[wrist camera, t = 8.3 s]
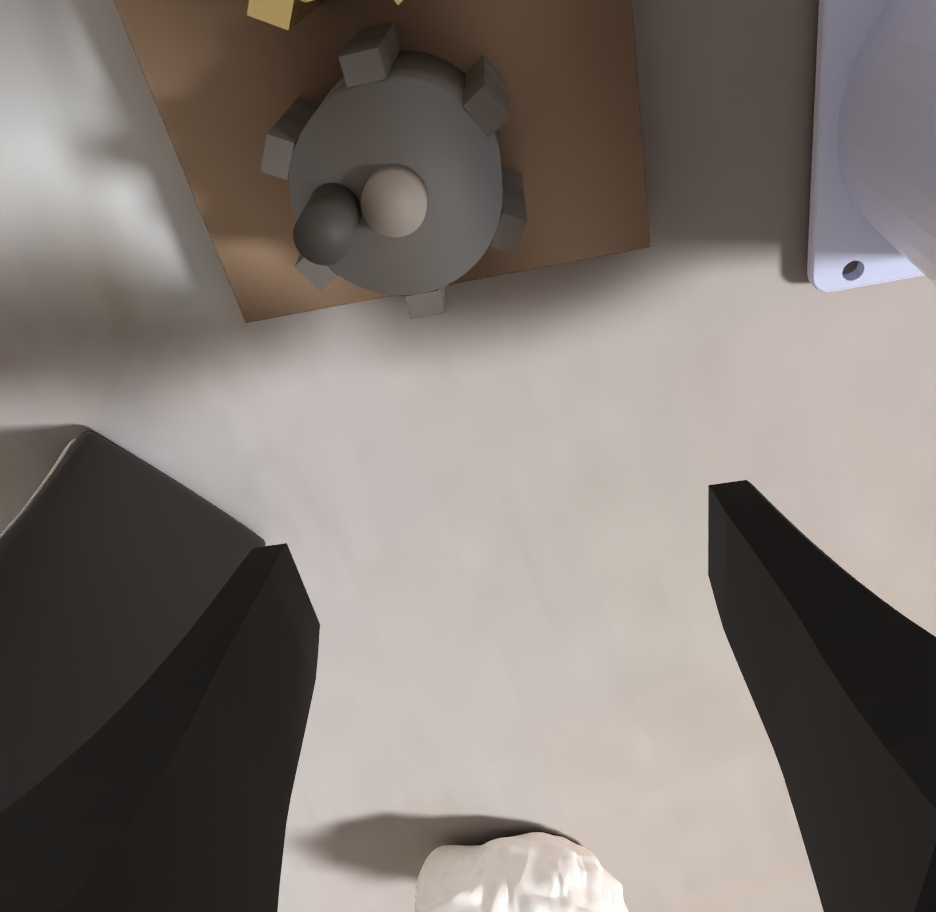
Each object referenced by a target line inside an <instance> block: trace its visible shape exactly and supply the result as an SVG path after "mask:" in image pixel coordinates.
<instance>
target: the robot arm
mask: <svg viewBox="0 0 936 912" xmlns="http://www.w3.org/2000/svg"><path fill="white" fill-rule="evenodd" d="M852 261H858V262H859V263H858V265H857V268H856V269H855V270H854V271H853V272H851V273H849V274H842V272H843V269H844V267H845V266H846V265H847V264H848V263H850V262H852ZM807 275H808V280H809V281H810V282H811V283H812V285H813V286H814V287H815V288H816V289H817V290H819V291H822V292H833V291H839V290H845V289H850V288H856V287H862V286H868V285H873V284H879V283H885V282H890V281H896V280H902V279H907V278H913V277H919V276H924V275H926V276H927V277H928V278H929V279H930V280H931V281H932V282H933V283H935V284H936V0H819V14H818V37H817V59H816V82H815V104H814V126H813V149H812V171H811V194H810V216H809V239H808V261H807ZM708 575H709V579H710V582H711V586H712V590H713V593H714V597H715V601H716V604H717V608H718V611H719V615H720V618H721V622H722V625H723V629H724V631H725V634H726V636H727V639H728V641H729V644H730V646H731V648H732V651H733V653H734V656H735V658H736V660H737V663H738V665H739V668H740V670H741V672H742V675H743V677H744V680H745V682H746V684H747V687H748V689H749V691H750V694H751V696H752V698H753V701H754V703H755V706H756V708H757V710H758V713H759V715H760V717H761V720H762V722H763V725H764V727H765V729H766V732H767V734H768V736H769V739H770V741H771V744H772V746H773V749H774V751H775V754H776V757H777V759H778V762H779V765H780V767H781V770H782V773H783V776H784V779H785V782H786V786H787V789H788V792H789V795H790V799H791V802H792V805H793V808H794V812H795V815H796V818H797V821H798V825H799V828H800V831H801V834H802V838H803V841H804V845H805V848H806V852H807V855H808V858H809V862H810V865H811V869H812V872H813V875H814V879H815V882H816V886H817V889H818V892H819V896H820V900H821V903H822V907H823V910H824V912H936V637H935V636H933V635H932V634H930V633H929V632H927V631H926V630H924V629H923V628H921V627H920V626H918V625H917V624H915V623H914V622H912V621H911V620H909V619H908V618H906V617H905V616H904V615H902V614H901V613H899V612H898V611H897V610H895V609H894V608H893V607H891V606H890V605H888V604H887V603H886V602H884V601H883V600H882V599H880V598H879V597H878V596H876V595H875V594H874V593H873V592H871V591H870V590H869V589H867V588H866V587H865V586H864V585H862V584H861V583H860V582H858V581H857V580H856V579H855V578H854V577H852V576H851V575H850V574H849V573H847V572H846V571H845V570H844V569H843V568H841V567H840V566H839V565H838V564H837V563H836V562H834V561H833V560H832V559H831V558H830V557H829V556H827V555H826V554H825V553H824V552H823V551H822V550H821V549H819V548H818V547H817V546H816V545H815V544H814V543H813V542H811V541H810V540H809V539H808V538H807V537H806V536H805V535H804V534H803V533H802V532H800V531H799V530H798V529H797V528H796V527H795V526H794V525H793V524H792V523H791V522H790V521H789V520H788V519H787V518H786V517H785V516H784V515H783V514H782V513H780V512H779V511H778V510H777V509H776V508H775V507H774V506H773V505H772V504H771V503H770V502H769V501H768V500H767V499H766V498H765V497H764V496H763V495H762V494H761V493H760V492H759V491H758V490H757V489H756V488H755V487H754V486H753V485H752V484H751V483H750V482H748V481H747V480H744V481H737V482H729V483H722V484H715V485H709V543H708ZM319 629H320V624H319V621H318V619H317V616H316V614H315V611H314V609H313V607H312V604H311V602H310V599H309V597H308V594H307V592H306V589H305V587H304V585H303V582H302V580H301V577H300V575H299V572H298V570H297V567H296V565H295V563H294V560H293V558H292V555H291V553H290V550H289V548H288V545H287V543H286V544H279V545H272V546H264V547H257V548H253V549H252V550H251V551H250V553H249V554H248V555H247V556H246V558H245V559H244V560H243V561H242V563H241V564H240V565H239V567H238V568H237V569H236V571H235V572H234V573H233V575H232V576H231V577H230V578H229V580H228V581H227V582H226V584H225V585H224V586H223V588H222V589H221V590H220V592H219V593H218V594H217V596H216V597H215V598H214V599H213V601H212V602H211V603H210V605H209V606H208V607H207V609H206V610H205V611H204V612H203V614H202V615H201V616H200V618H199V619H198V620H197V621H196V623H195V624H194V625H193V626H192V628H191V629H190V630H189V631H188V633H187V634H186V635H185V636H184V638H183V639H182V640H181V641H180V643H179V644H178V645H177V646H176V647H175V648H174V649H173V651H172V652H171V653H170V654H169V655H168V656H167V658H166V659H165V660H164V661H163V662H162V663H161V665H160V666H159V667H158V668H157V669H156V670H155V671H154V673H153V674H152V675H151V676H150V677H149V678H148V680H147V681H146V682H145V683H144V684H143V685H142V686H141V687H140V688H139V690H138V691H137V692H136V693H135V694H134V695H133V696H132V697H131V698H130V699H129V700H128V701H127V702H126V703H125V704H124V705H123V706H122V707H121V708H120V709H119V710H118V711H117V712H116V713H115V714H114V715H113V716H112V717H111V718H110V719H109V720H108V721H107V722H106V723H105V724H104V725H103V726H102V727H101V728H100V729H99V730H98V731H97V732H96V733H95V734H94V735H93V736H92V737H91V738H90V739H88V740H87V741H86V742H85V743H84V744H83V745H82V746H81V747H79V748H78V749H77V750H76V751H75V752H74V753H73V754H71V755H70V756H69V757H68V758H67V759H66V760H65V761H63V762H62V763H61V764H60V765H59V766H58V767H57V768H55V769H54V770H53V771H52V772H51V773H50V774H49V775H47V776H46V777H45V778H44V779H43V780H42V781H40V782H39V783H38V784H37V785H36V786H34V787H33V788H32V789H31V790H29V791H28V792H27V793H26V794H24V795H23V796H22V797H21V798H19V799H18V800H17V801H16V802H14V803H13V804H12V805H10V806H9V807H8V808H7V809H5V810H4V811H3V812H1V813H0V912H277V908H278V896H279V885H280V875H281V865H282V856H283V847H284V838H285V829H286V821H287V816H288V810H289V804H290V798H291V793H292V789H293V784H294V779H295V775H296V770H297V765H298V761H299V756H300V751H301V747H302V742H303V737H304V733H305V728H306V723H307V719H308V714H309V709H310V704H311V699H312V695H313V690H314V684H315V679H316V670H317V659H318V645H319Z"/></svg>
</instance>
